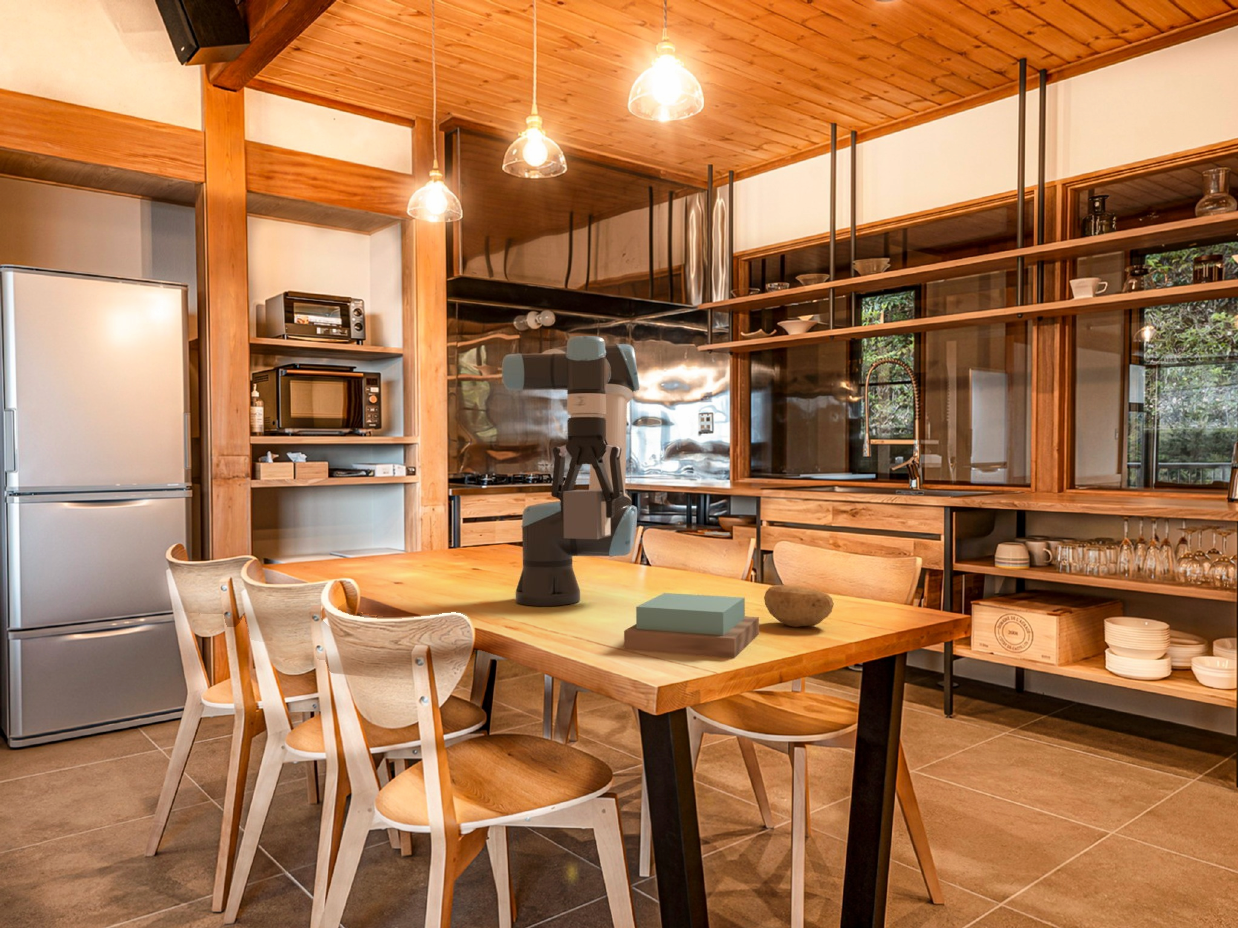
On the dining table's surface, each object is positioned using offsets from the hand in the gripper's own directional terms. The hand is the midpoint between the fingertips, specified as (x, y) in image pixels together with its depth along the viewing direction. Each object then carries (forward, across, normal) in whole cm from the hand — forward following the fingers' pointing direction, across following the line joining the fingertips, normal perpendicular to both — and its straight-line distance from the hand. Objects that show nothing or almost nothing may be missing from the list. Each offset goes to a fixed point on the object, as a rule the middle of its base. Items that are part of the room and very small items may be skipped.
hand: (587, 534), depth 171 cm
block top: (+16, +22, -2) cm, 27 cm away
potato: (+19, +38, +18) cm, 46 cm away
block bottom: (+20, +22, -2) cm, 30 cm away
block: (+1, 0, 0) cm, 1 cm away
